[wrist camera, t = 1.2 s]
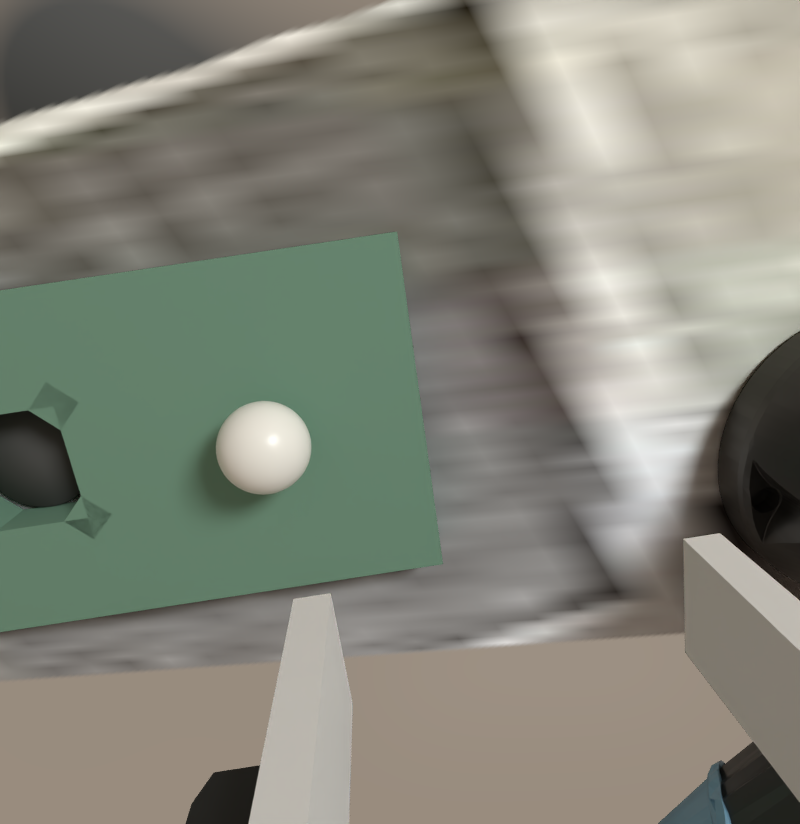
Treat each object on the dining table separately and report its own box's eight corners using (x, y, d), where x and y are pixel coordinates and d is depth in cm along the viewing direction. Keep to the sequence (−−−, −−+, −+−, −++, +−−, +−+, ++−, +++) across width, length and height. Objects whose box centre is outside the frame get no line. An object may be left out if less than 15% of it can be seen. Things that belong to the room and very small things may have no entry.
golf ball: (330, 417, 29) (324, 445, 25) (290, 488, 30) (278, 526, 26) (251, 375, 28) (232, 397, 24) (212, 449, 29) (188, 482, 25)
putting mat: (394, 231, 29) (396, 231, 27) (437, 540, 33) (442, 564, 31) (-165, 314, 29) (-214, 322, 26) (-48, 614, 33) (-80, 644, 31)
